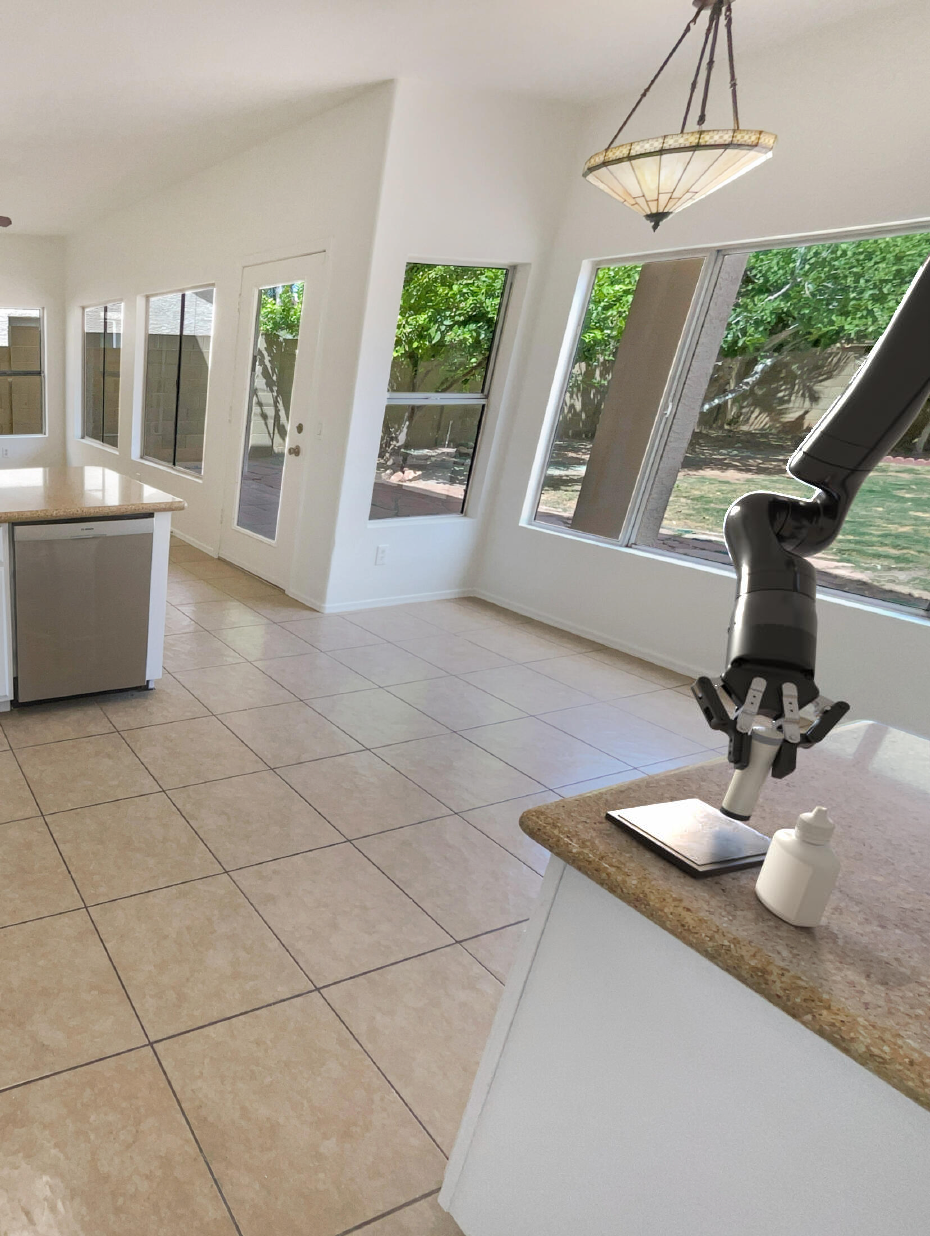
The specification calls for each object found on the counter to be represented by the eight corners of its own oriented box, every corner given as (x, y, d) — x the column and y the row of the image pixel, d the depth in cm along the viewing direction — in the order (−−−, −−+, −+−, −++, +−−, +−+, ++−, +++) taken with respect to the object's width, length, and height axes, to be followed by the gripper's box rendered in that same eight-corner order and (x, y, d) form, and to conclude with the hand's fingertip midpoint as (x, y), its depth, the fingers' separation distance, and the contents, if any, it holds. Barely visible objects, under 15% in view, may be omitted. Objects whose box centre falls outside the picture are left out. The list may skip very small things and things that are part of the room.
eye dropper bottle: (757, 916, 69) (793, 814, 65) (752, 884, 73) (786, 787, 69) (819, 935, 67) (861, 830, 62) (810, 901, 71) (849, 801, 67)
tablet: (693, 804, 87) (696, 797, 87) (795, 861, 77) (798, 852, 77) (604, 818, 84) (606, 811, 84) (697, 879, 74) (700, 870, 74)
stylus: (730, 806, 82) (764, 725, 79) (755, 820, 80) (791, 736, 76) (713, 809, 82) (746, 727, 78) (738, 822, 80) (772, 738, 76)
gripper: (707, 611, 83) (692, 743, 77) (870, 634, 76) (867, 781, 70) (685, 639, 89) (670, 764, 83) (835, 663, 82) (829, 800, 77)
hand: (760, 771), depth 77 cm, fingers closed on stylus, 2 cm apart
